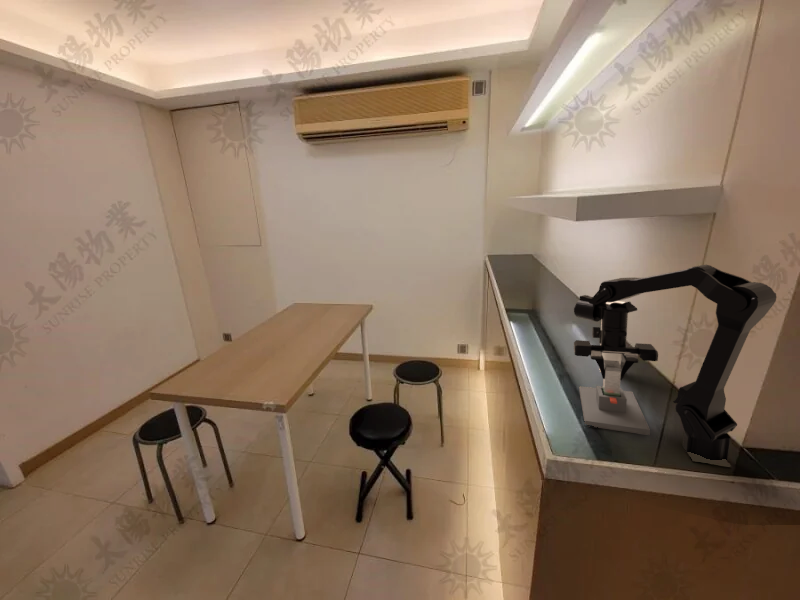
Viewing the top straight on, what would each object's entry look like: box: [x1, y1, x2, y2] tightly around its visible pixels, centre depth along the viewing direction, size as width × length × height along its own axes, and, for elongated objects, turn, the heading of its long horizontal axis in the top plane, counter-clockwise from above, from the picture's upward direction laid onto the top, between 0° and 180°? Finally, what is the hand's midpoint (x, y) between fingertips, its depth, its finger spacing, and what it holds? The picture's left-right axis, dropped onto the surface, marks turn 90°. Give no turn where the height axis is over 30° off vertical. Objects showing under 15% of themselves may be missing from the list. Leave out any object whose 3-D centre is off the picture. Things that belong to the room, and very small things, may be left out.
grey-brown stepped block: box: [602, 360, 622, 397], centre depth 90 cm, size 4×5×9 cm
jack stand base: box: [578, 385, 651, 436], centre depth 92 cm, size 14×20×6 cm
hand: (611, 379), depth 90 cm, fingers closed on grey-brown stepped block, 3 cm apart
